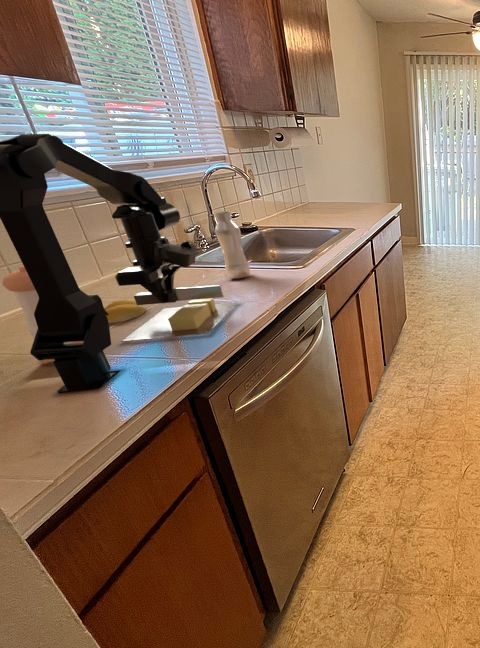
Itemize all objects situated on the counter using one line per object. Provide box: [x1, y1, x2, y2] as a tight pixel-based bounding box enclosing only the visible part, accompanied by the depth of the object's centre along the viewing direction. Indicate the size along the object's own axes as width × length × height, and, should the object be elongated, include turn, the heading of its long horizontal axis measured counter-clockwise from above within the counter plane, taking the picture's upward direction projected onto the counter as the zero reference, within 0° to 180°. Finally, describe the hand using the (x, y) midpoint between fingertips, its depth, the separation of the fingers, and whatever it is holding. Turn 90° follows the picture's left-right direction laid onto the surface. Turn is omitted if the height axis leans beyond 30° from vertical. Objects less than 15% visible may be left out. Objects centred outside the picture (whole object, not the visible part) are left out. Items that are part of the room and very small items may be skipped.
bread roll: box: [104, 299, 147, 324], centre depth 97 cm, size 8×9×4 cm
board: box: [122, 301, 237, 342], centre depth 95 cm, size 18×17×1 cm
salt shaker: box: [2, 265, 84, 365], centre depth 77 cm, size 7×7×19 cm
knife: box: [133, 284, 224, 306], centre depth 95 cm, size 18×2×3 cm, turn 101°
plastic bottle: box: [214, 211, 251, 279], centre depth 121 cm, size 6×7×20 cm
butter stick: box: [168, 303, 211, 331], centre depth 93 cm, size 8×5×3 cm, turn 11°
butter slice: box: [187, 298, 216, 312], centre depth 98 cm, size 2×5×3 cm, turn 102°
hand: (167, 300), depth 95 cm, fingers closed on knife, 2 cm apart
